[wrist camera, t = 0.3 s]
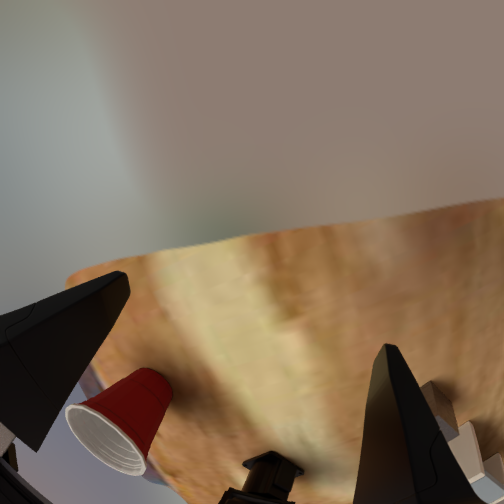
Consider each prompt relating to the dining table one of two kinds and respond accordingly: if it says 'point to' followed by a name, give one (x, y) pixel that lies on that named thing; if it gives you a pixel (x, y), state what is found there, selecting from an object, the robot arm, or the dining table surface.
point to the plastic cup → (122, 420)
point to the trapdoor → (488, 488)
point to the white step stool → (475, 457)
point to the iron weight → (441, 410)
